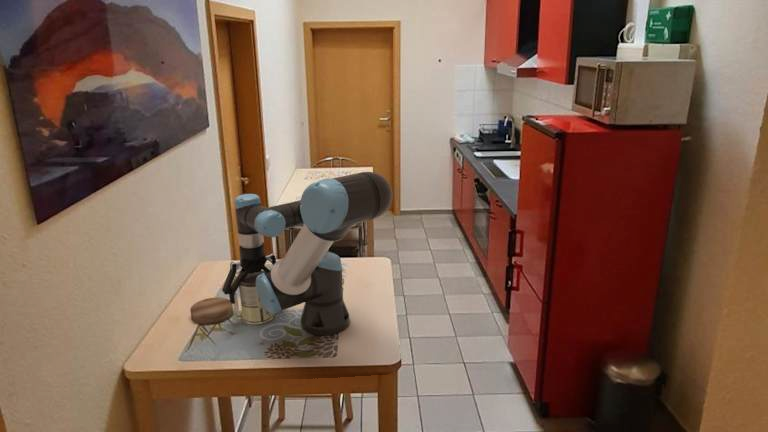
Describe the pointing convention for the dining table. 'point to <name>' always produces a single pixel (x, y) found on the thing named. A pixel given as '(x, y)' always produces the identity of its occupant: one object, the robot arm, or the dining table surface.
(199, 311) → the pedestal
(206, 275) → the dining table surface
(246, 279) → the coffee can
